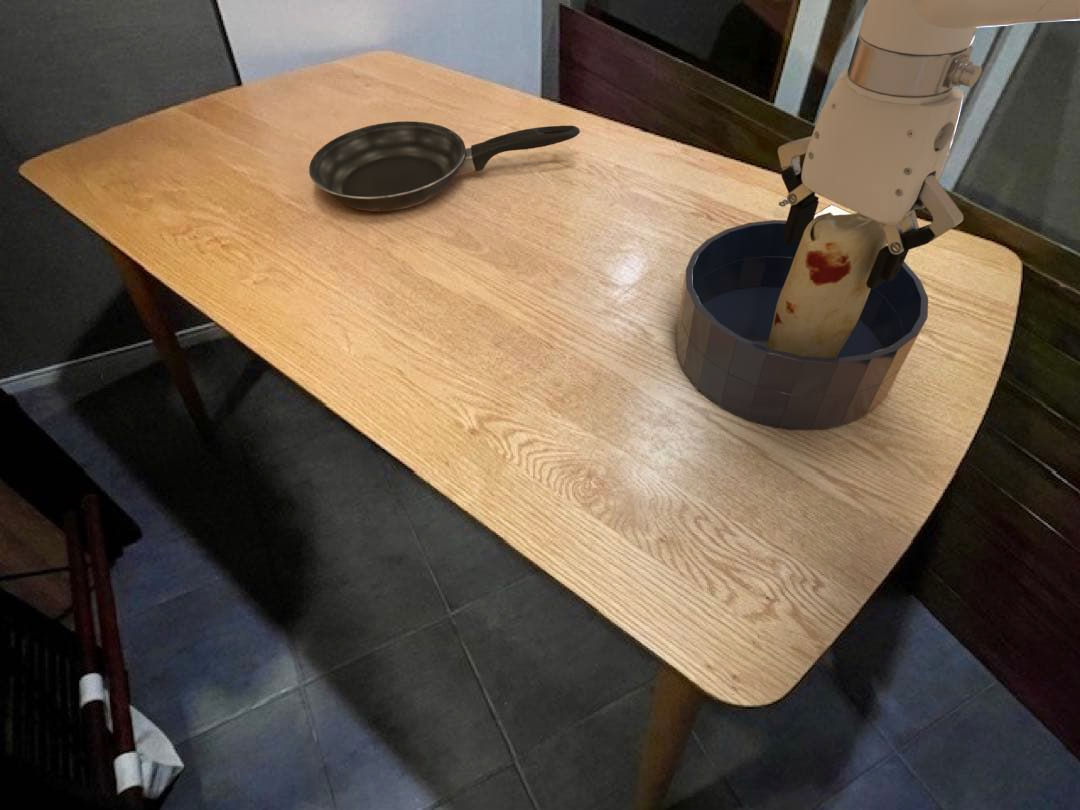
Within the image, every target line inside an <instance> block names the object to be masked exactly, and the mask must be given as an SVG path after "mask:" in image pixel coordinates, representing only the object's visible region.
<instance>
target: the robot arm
mask: <svg viewBox="0 0 1080 810" xmlns="http://www.w3.org/2000/svg"><path fill="white" fill-rule="evenodd" d="M1067 21H1069V22H1070V21H1074V22H1075V21H1080V0H867V2H866V6H865V10H864V13H863V17H862V20H861V23H860V26H859V30H858V34H857V38H856V41H855V45H854V48H853V51H852V55H851V57H850V61H849V65H848V67H847V68H845V69H843V70H841V72H840V73H839V74H838V76H837V78H836V80H835V82H834V84H833V86H832V87H831V90H830V92H829V93H828V95H827V97H826V100H825V102H824V105H823V106H822V109H821V111H820V114H819V115H818V118H817V121H816V124H815V126H814V129H813V132H812V134H811V136H806V137H802V138H800V139H799V138H798V139H795V140H792V141H791V140H790V141H789V142H786V143H784V144H782V145H779V147H778V149H777V154H778V159H779V164H780V168H781V169H782V171H781V179H782V181H783V183H784V186H785V188H786V190H787V193H788V194H787V195H786V200H787V201H788V203H789V204H788V205H790V207H789V212H788V215H787V219H786V220H787V222H786V226H785V229H787V230H786V234H785V237H784V241H783V242H784V243H785V244H787V245H792V244H793V243H795V242H797V241H799V240H800V239H802V236H803V233H804V230H805V229H806V227H807V226H808V224H809V223H810V222H811V221H812V220H813V219H814V216H815V214H816V213H817V209H818V206H819V199H820V197H823V198H824V199H827V200H828V201H831V202H834V203H835V204H837V205H840V206H841V207H844V208H846V209H849V210H851V211H853V212H855V213H859V214H861V215H864V216H866V217H868V218H870V219H873V220H875V221H877V222H880V223H882V225H883V229H884V233H885V237H886V241H887V246H885V247H884V248H882V249H881V250H880V251H879V253H878V255H877V258H876V260H875V263H874V265H873V268H872V270H871V273H870V275H869V277H868V280H867V282H866V285H867V287H868V288H870V289H872V290H873V289H874V288H876V287H877V286H879V285H880V284H882V283H883V282H885V281H888V282H889V281H891V280H893V279H894V278H895V277H896V276H897V274H898V273H899V271H900V269H901V267H902V264H903V262H905V260H906V257H907V255H908V253H909V251H910V250H913V249H915V248H919V247H921V246H925V245H928V244H930V243H931V242H932V241H934V240H935V239H937V238H939V237H940V236H942V235H944V234H945V233H947V232H949V231H950V230H952V229H954V228H955V227H957V226H958V225H959V224H961V223H962V222H963V221H964V214H963V213H962V211H961V210H960V209H959V208H958V205H956V203H955V202H954V200H953V199H952V198H951V197H950V195H949V194H948V193H947V191H946V190H945V188H944V187H943V186H942V184H941V183H940V180H941V177H942V175H943V172H944V169H945V166H946V163H947V160H948V157H949V154H950V151H951V148H952V144H953V142H954V138H955V134H956V131H957V126H958V123H959V119H960V115H961V110H962V103H963V98H964V92H963V90H962V89H960V88H958V87H960V86H964V87H967V88H972V87H973V86H974V85H975V84H976V83H977V82H978V80H979V78H980V76H981V75H982V71H983V67H982V66H981V65H977V64H974V62H973V61H971V60H970V58H971V55H972V52H973V49H974V47H973V46H972V44H973V43H974V40H975V37H976V35H977V32H978V30H979V28H991V27H1005V26H1006V27H1007V26H1013V25H1020V24H1034V23H1051V22H1053V23H1054V22H1067ZM803 155H805V156H804V158H803V159H804V160H803V163H802V164H801V163H800V162H801V156H803ZM816 194H817V195H819V196H820V197H819V196H817V195H816ZM924 209H926V210H927V211H928V212H929V214H930V215H931V217H932V221H931V223H929V224H926V225H923V226H921V227H920V226H919V221H918V217H917V213H916V210H924Z"/></svg>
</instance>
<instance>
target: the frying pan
mask: <svg viewBox="0 0 1080 810" xmlns="http://www.w3.org/2000/svg"><path fill="white" fill-rule="evenodd" d="M580 133H581V129H580V128H579V127H577V126H575V125H549V126H538V127H532V128H525V129H521V130H516V131H512V132H508V133H505V134H501V135H498V136H495V137H492V138H490V139H487V140H485V141H482V142H479V143H475V144H472V145H470V147H468V148H466V144H465V141H464V140H463V138H462V137H461V136H460V135H459V134H458V133H457V132H455V131H454V130H452V129H451V128H448V127H445V126H443V125H439V124H435V123H431V122H425V121H424V122H423V121H411V120H410V121H408V120H406V121H391V122H382V123H376V124H372V125H371V124H370V125H367V126H363V127H360V128H358V129H354V130H351V131H349V132H347V133H344V134H341V135H340V136H337V137H336V138H334V139H332V140H330V141H329V142H327V143H326V144H324V145H323V146H322V147H321V148H319V150H317V152H316V153H315V154H314V155H313V156H312V158H311V161H310V162H309V168H308V173H309V176H310V179H311V180H312V182H313V183H314V185H315V186H316V187H318V188H319V189H321V190H322V191H324V192H325V193H326V194H327V195H328V196H329V197H331V198H332V199H333V200H335V201H337V202H338V203H341V204H343V205H345V206H347V207H350V208H353V209H357V210H362V211H369V212H390V211H397V210H404V209H406V208H410V207H414V206H417V205H420V204H422V203H424V202H427V201H429V200H431V199H433V198H434V197H436V196H437V195H439V194H440V193H442V192H443V190H445V189H446V188H447V187H448V186H449V185H450V184H451V183H452V181H453V180H454V179H455V177H456V176H460V175H465V174H468V173H471V172H481V171H483V170H484V169H485V167H486V165H487V164H488V162H489V161H490V160H491V159H492V158H494V157H495V156H497V155H498V154H501V153H504V152H512V151H524V150H531V149H533V150H534V149H537V148H543V147H548V146H552V145H556V144H559V143H562V142H565V141H569V140H571V139H574V138H576V137H577V136H578V135H580Z"/></svg>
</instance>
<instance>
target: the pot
mask: <svg viewBox="0 0 1080 810" xmlns="http://www.w3.org/2000/svg"><path fill="white" fill-rule="evenodd" d="M786 222H787V219H786V220H785V219H770V220H760V221H754V222H753V221H752V222H747V223H743V224H741V225H737V226H733V227H729V228H726V229H724V230H722V231H720V232H718V233H716V234H715V235H713V236H710V237H708V238H707V239H705V240H704V242H703V243H701V245H700V246H699V247H698V248H696V249H695V250H694V251H693V253H692V254H691V256H690V259H689V261H688V263H687V266H686V268H685V273H684V280H683V287H682V292H681V300H680V305H679V306H680V307H679V312H678V319H677V327H676V338H675V339H676V340H675V350H676V356H677V359H678V362H679V365H680V367H681V370H682V371H683V373H684V374H685V376H686V377H687V379H688V381H689V382H690V383H691V384H692V385H693V387H694V388H696V390H698V392H699V393H701V394H702V395H703V396H704V397H705V398H707V399H708V401H710V402H712V403H714V404H715V405H716V406H717V407H719V408H721V409H722V410H725V411H726V412H728V413H730V414H732V415H735V416H737V417H739V418H741V419H744V420H746V421H750V422H752V423H756V424H759V425H761V426H766V427H771V428H776V429H782V430H791V431H818V430H828V429H834V428H838V427H839V428H840V427H842V426H845V425H848V424H852V423H853V422H856V421H858V420H860V419H863V418H864V417H865V416H867V415H869V414H871V413H872V412H874V410H875V409H876V408H878V406H880V405H881V404H882V403H883V401H884V400H885V398H886V397H887V396H888V394H889V392H890V390H891V388H892V387H893V384H894V383H895V381H896V379H897V377H898V375H899V373H900V371H901V369H902V368H903V365H904V363H905V362H906V360H907V358H908V357H909V354H910V352H911V351H912V349H913V346H914V345H915V343H916V341H917V338H918V337H919V335H920V334H921V331H922V330H923V328H924V326H925V324H926V321H927V320H928V316H929V312H928V311H929V296H928V294H927V292H926V290H925V287H924V285H923V282H922V280H921V278H920V277H919V276H918V275H917V273H915V271H914V270H913V269H912V268H911V267H910V265H909V264H908V263H907V262H906V261H904V262H903V264H902V267H901V269H900V271H899V273H898V274H897V276H896V277H895V278H894V279H893V280H891V281H889V282H888V281H885V282H883V283H882V284H880V285H879V286H877V287H876V288H874V289H873V290H872V289H870V292H869V295H868V298H867V300H866V303H865V305H864V308H863V310H862V312H861V315H860V317H859V319H858V322H857V324H856V326H855V327H854V329H853V331H852V333H851V334H850V336H849V338H848V339H847V341H846V342H845V344H844V346H843V348H842V349H841V351H840V353H839V354H838V356H837V358H824V357H807V356H799V355H795V354H790V353H786V352H782V351H777V350H773V349H769V348H767V345H768V341H769V336H770V332H771V328H772V324H773V319H774V315H775V310H776V306H777V302H778V299H779V296H780V293H781V291H782V288H783V286H784V284H785V281H786V279H787V276H788V274H789V271H790V268H791V266H792V263H793V260H794V257H795V255H796V252H797V249H798V247H799V244H800V242H801V239H800V240H799V241H797V242H795V243H793V244H792V245H787V244H785V243H784V242H783V241H784V237H785V234H786V230H787V229H785V226H786Z"/></svg>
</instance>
